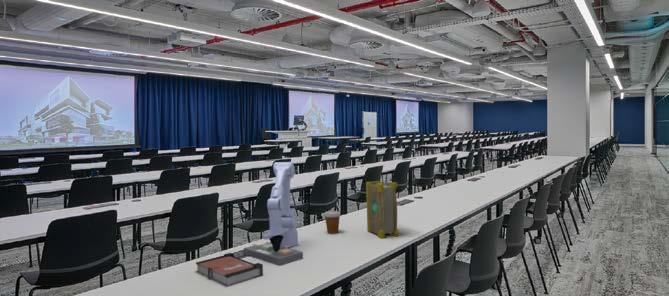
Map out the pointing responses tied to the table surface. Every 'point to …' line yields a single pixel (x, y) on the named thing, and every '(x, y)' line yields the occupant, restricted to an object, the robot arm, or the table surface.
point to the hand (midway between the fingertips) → (276, 251)
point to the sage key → (267, 247)
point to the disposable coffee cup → (332, 221)
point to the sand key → (259, 244)
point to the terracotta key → (285, 252)
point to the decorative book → (381, 208)
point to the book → (229, 269)
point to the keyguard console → (273, 255)
